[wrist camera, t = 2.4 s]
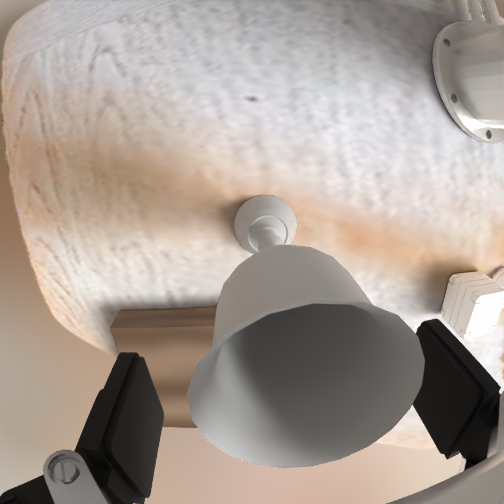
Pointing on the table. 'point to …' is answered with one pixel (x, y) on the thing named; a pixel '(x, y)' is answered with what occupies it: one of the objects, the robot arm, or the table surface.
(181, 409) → the walnut plinth
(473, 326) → the container set
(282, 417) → the chalice
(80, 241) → the table surface
